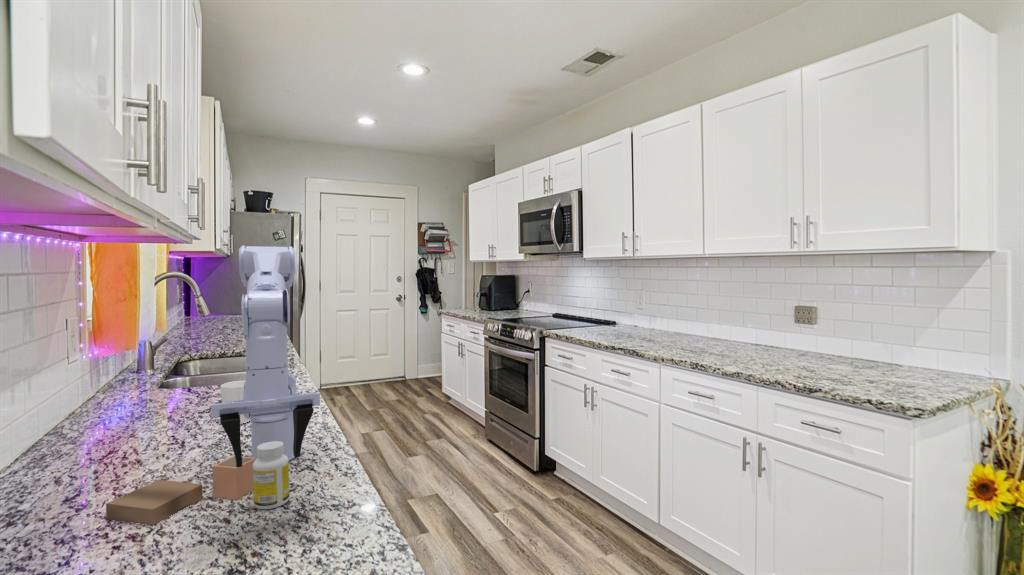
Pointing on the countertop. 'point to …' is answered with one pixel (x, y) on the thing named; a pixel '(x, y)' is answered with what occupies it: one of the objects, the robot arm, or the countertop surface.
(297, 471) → the countertop surface
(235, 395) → the white cup
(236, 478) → the terracotta pot
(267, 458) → the supplement bottle
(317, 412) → the countertop surface
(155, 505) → the walnut block
